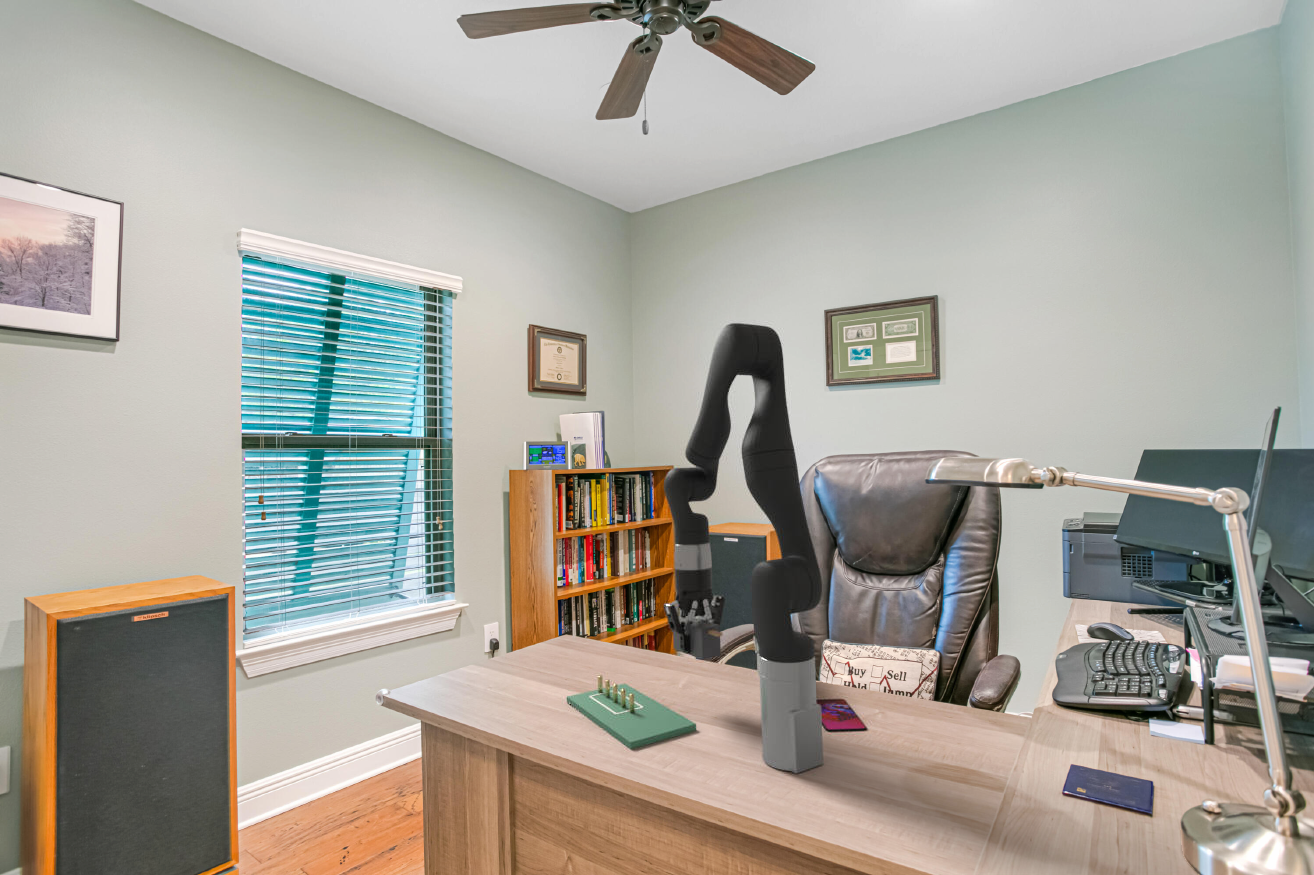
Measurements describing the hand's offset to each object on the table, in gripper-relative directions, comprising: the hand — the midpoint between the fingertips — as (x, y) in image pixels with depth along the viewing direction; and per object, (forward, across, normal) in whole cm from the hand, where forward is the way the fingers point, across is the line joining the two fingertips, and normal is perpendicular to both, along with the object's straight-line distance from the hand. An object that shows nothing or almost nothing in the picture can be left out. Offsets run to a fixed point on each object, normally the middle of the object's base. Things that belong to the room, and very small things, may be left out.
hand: (696, 650), depth 134 cm
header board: (+12, -13, +6) cm, 19 cm away
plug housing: (0, 0, -1) cm, 2 cm away
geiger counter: (+12, +22, +5) cm, 26 cm away
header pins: (+11, -13, +11) cm, 20 cm away
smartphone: (+13, +20, -18) cm, 30 cm away
